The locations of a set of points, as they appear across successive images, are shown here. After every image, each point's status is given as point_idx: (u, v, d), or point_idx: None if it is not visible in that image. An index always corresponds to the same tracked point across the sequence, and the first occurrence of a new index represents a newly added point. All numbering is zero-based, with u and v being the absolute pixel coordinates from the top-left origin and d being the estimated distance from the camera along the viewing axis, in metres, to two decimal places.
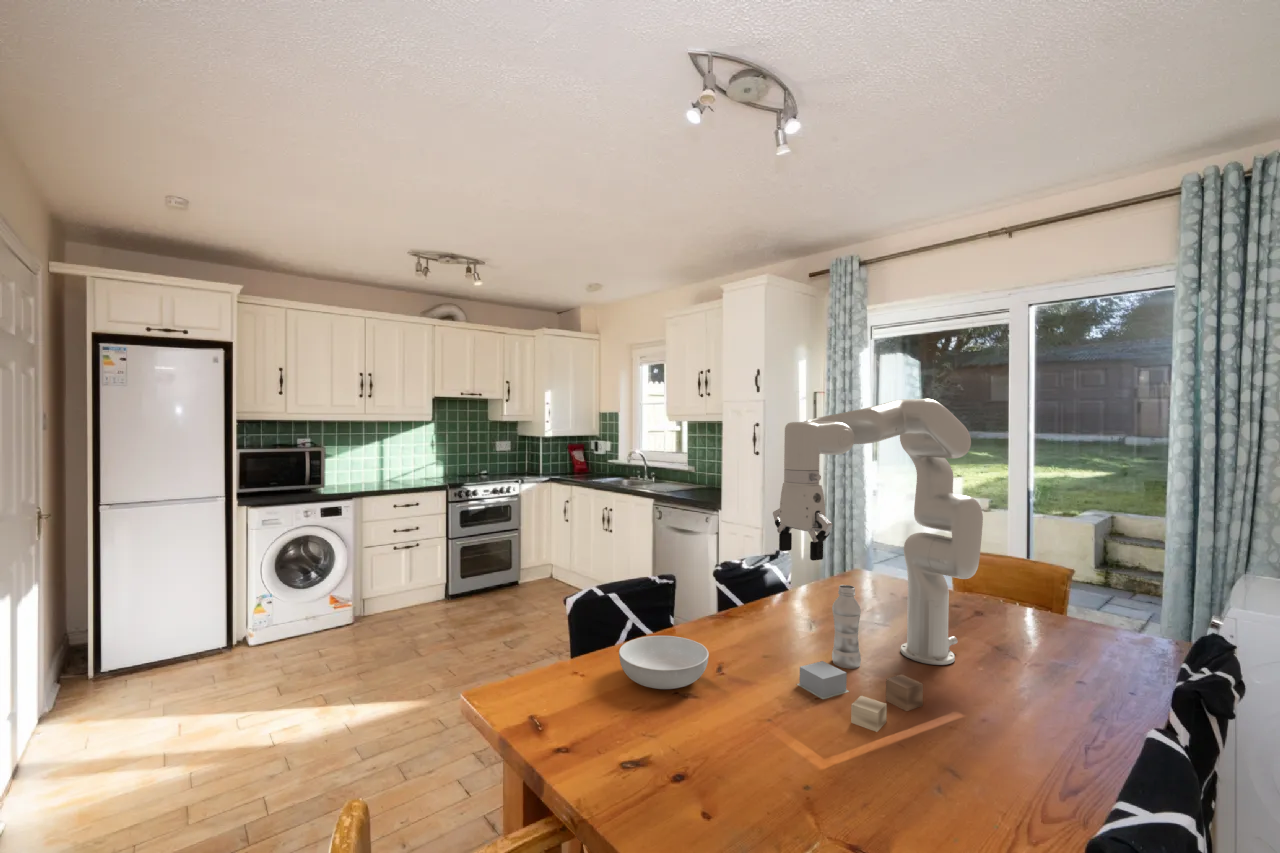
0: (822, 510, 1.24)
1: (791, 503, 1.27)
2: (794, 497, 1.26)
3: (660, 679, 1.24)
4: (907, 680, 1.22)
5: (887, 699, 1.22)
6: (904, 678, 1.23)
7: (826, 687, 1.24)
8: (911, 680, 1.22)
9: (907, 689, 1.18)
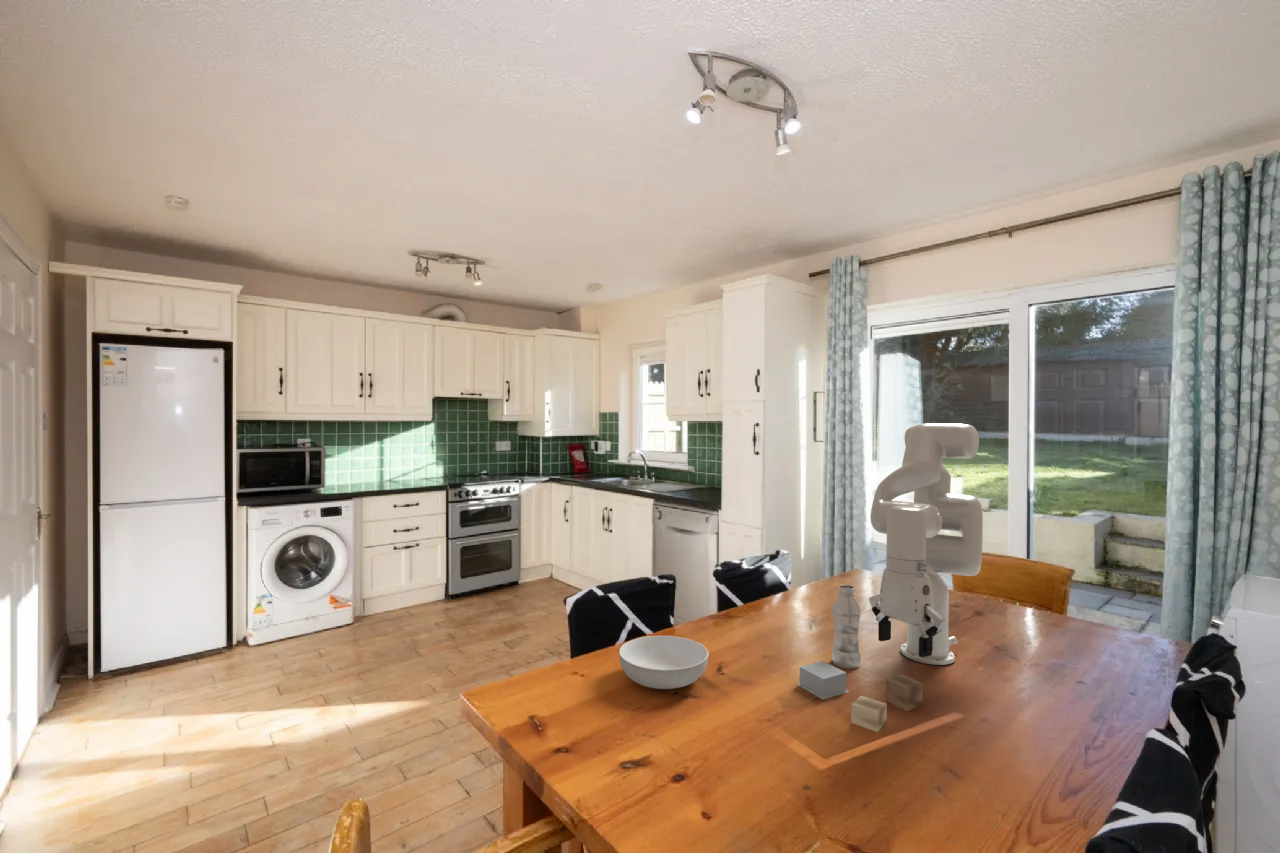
0: (931, 603, 1.17)
1: (895, 593, 1.20)
2: (899, 587, 1.19)
3: (660, 679, 1.24)
4: (907, 680, 1.22)
5: (887, 699, 1.22)
6: (904, 678, 1.23)
7: (826, 687, 1.24)
8: (911, 680, 1.22)
9: (907, 689, 1.18)
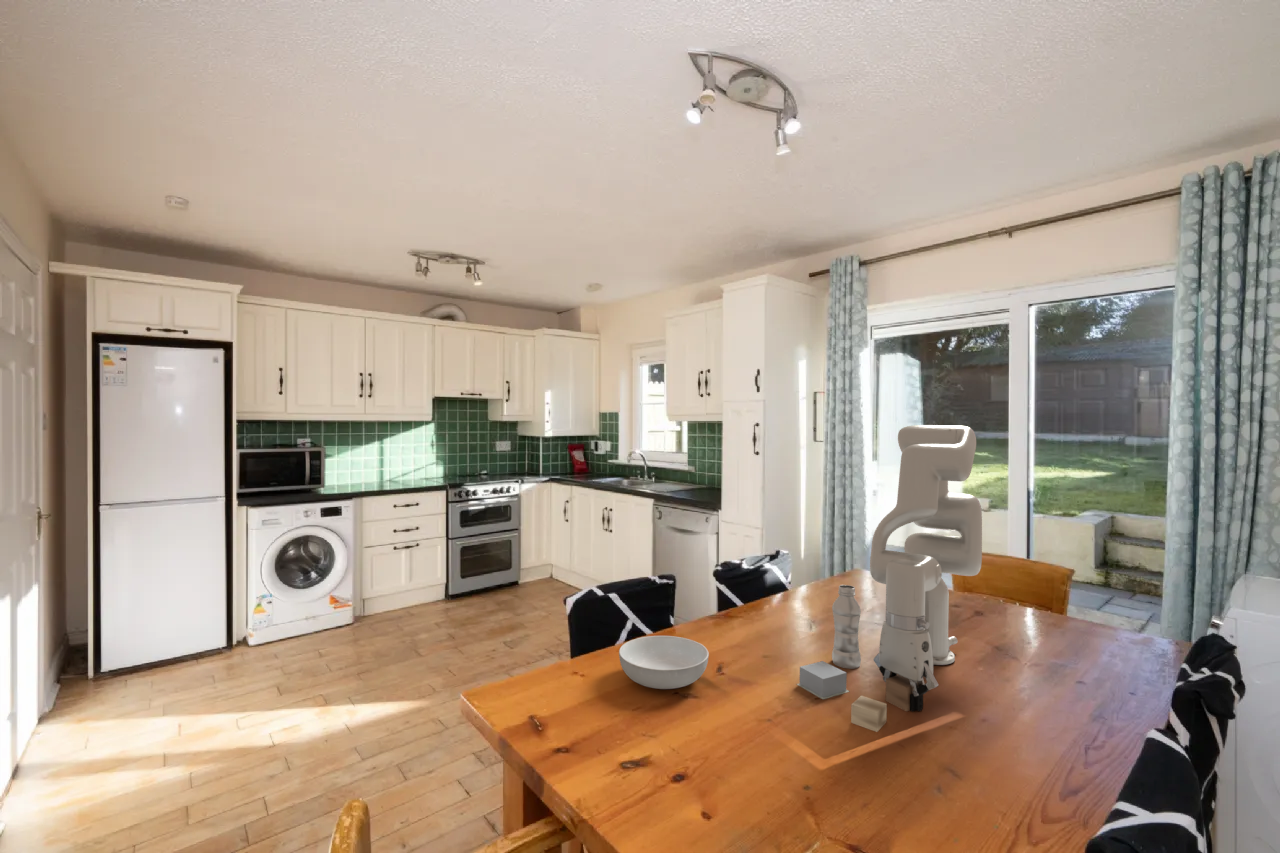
0: (930, 659, 1.17)
1: (895, 648, 1.20)
2: (899, 643, 1.19)
3: (660, 679, 1.24)
4: (907, 680, 1.22)
5: (887, 699, 1.22)
6: (904, 678, 1.22)
7: (826, 687, 1.24)
8: None
9: (907, 689, 1.18)
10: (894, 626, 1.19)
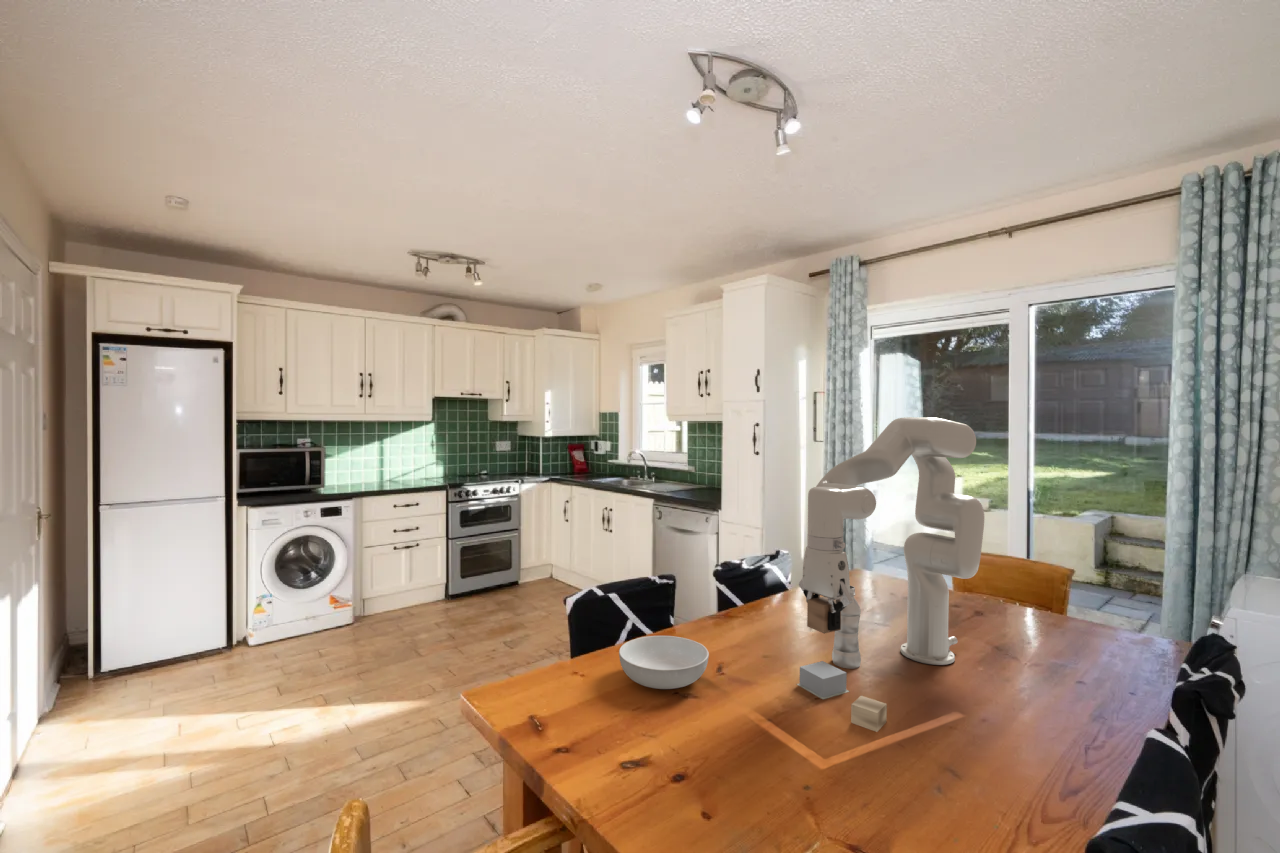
0: (846, 577, 1.24)
1: (815, 569, 1.27)
2: (818, 563, 1.26)
3: (660, 679, 1.24)
4: (827, 600, 1.28)
5: (808, 618, 1.29)
6: (825, 599, 1.29)
7: (826, 687, 1.24)
8: None
9: (825, 607, 1.25)
10: (813, 548, 1.26)
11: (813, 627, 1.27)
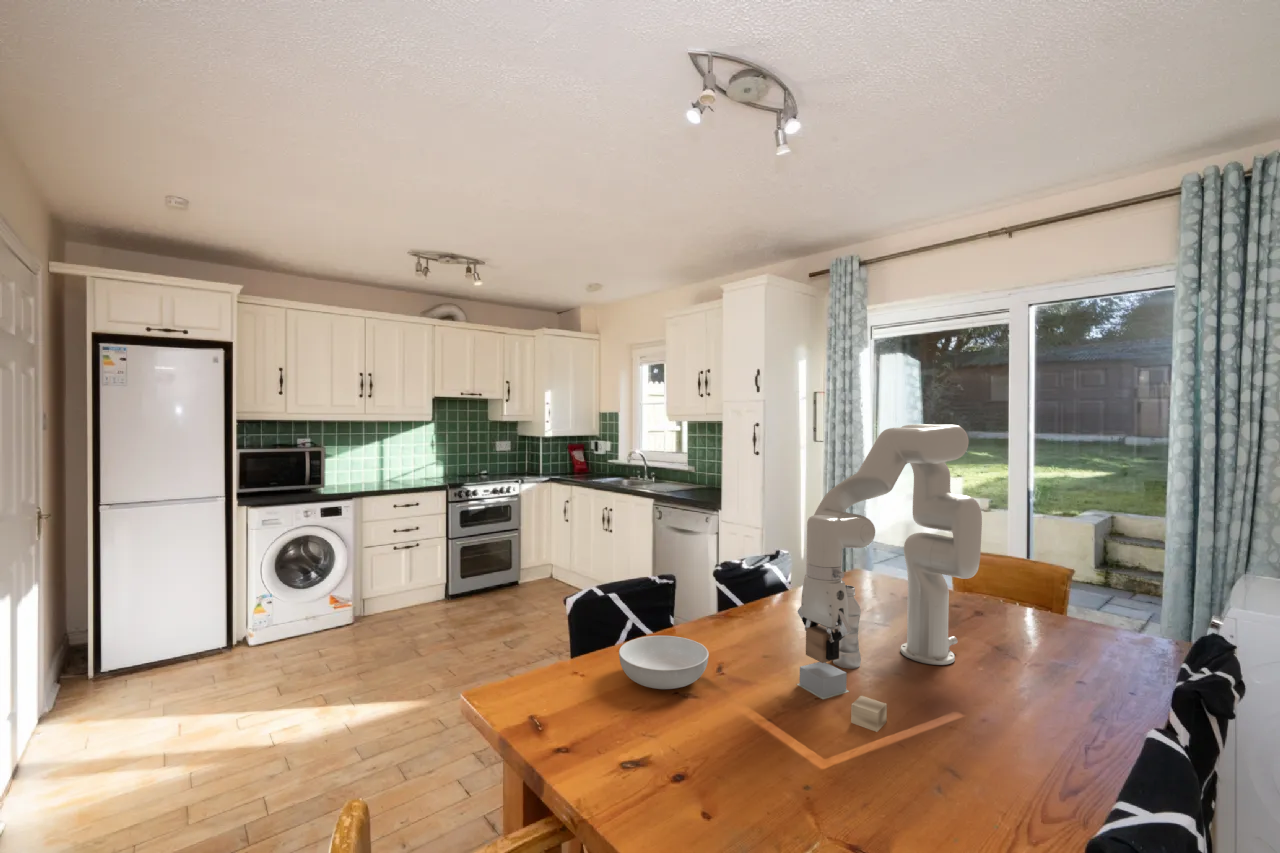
0: (845, 607, 1.24)
1: (813, 598, 1.27)
2: (817, 592, 1.26)
3: (660, 679, 1.24)
4: (826, 629, 1.28)
5: (807, 647, 1.29)
6: (824, 627, 1.29)
7: (826, 687, 1.24)
8: None
9: (823, 636, 1.25)
10: (812, 577, 1.26)
11: (811, 656, 1.27)
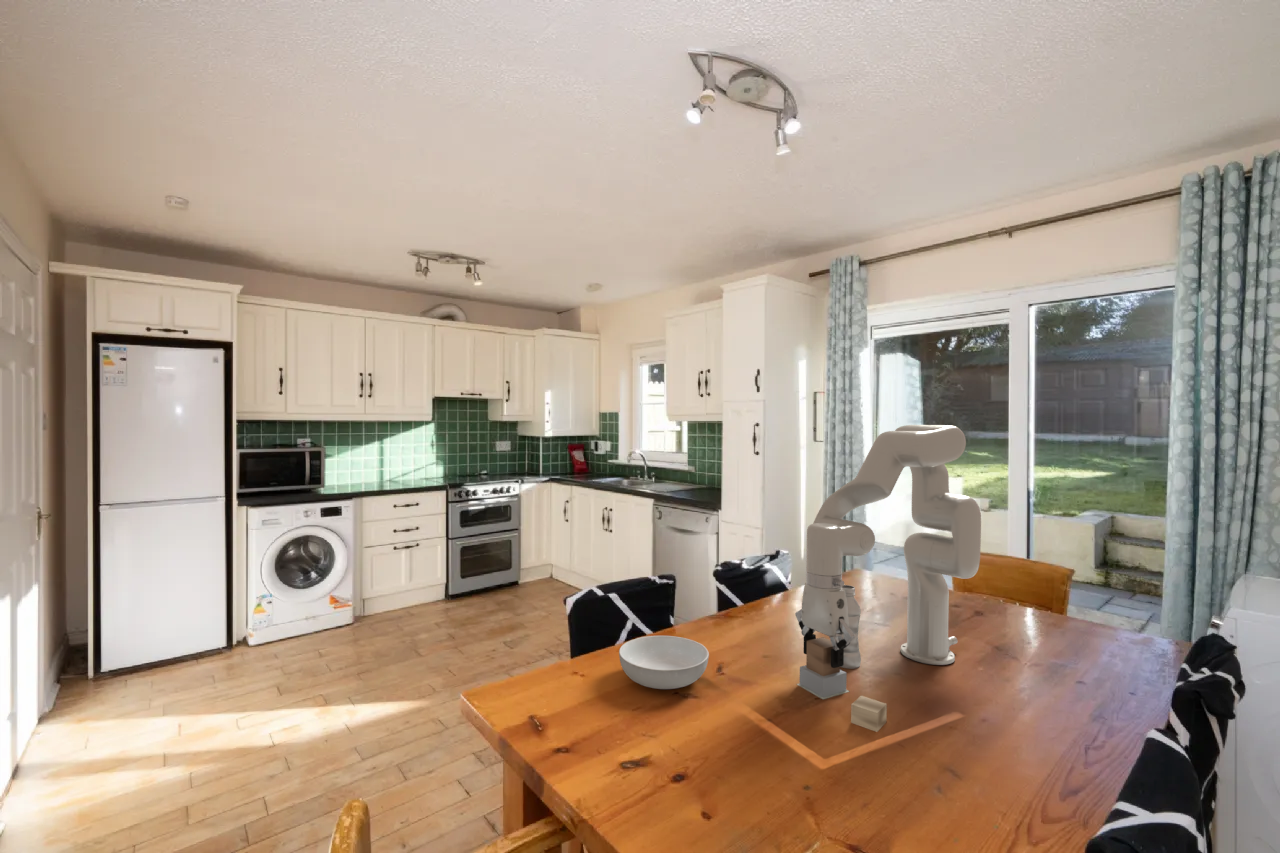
0: (845, 615, 1.24)
1: (814, 606, 1.27)
2: (817, 601, 1.26)
3: (660, 679, 1.24)
4: (826, 642, 1.28)
5: (807, 660, 1.29)
6: (824, 640, 1.29)
7: (826, 687, 1.24)
8: (830, 642, 1.28)
9: (824, 649, 1.25)
10: (812, 585, 1.26)
11: (812, 669, 1.27)
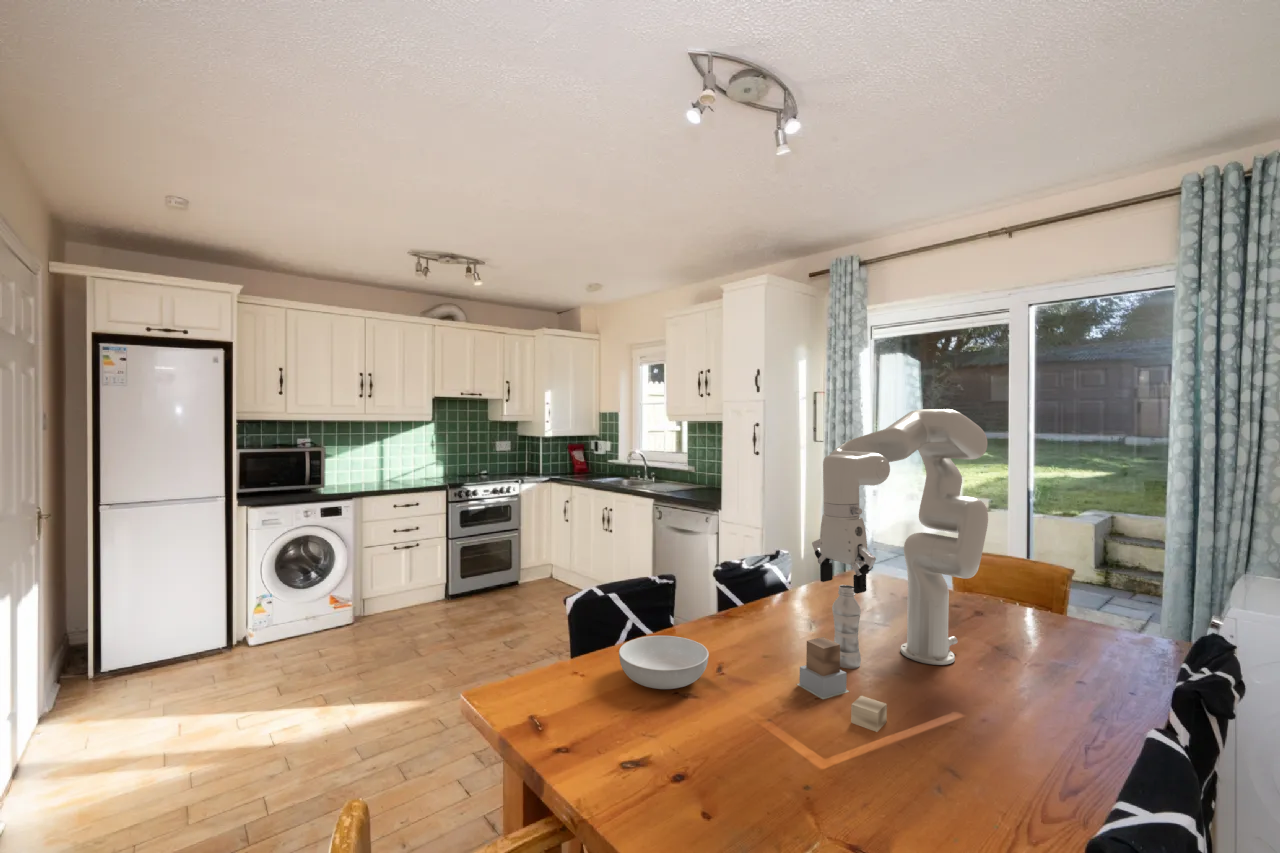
0: (864, 543, 1.25)
1: (832, 536, 1.28)
2: (835, 530, 1.27)
3: (660, 679, 1.24)
4: (826, 642, 1.28)
5: (807, 660, 1.29)
6: (824, 640, 1.29)
7: (826, 687, 1.24)
8: (830, 642, 1.28)
9: (824, 649, 1.25)
10: (830, 515, 1.27)
11: (812, 669, 1.27)
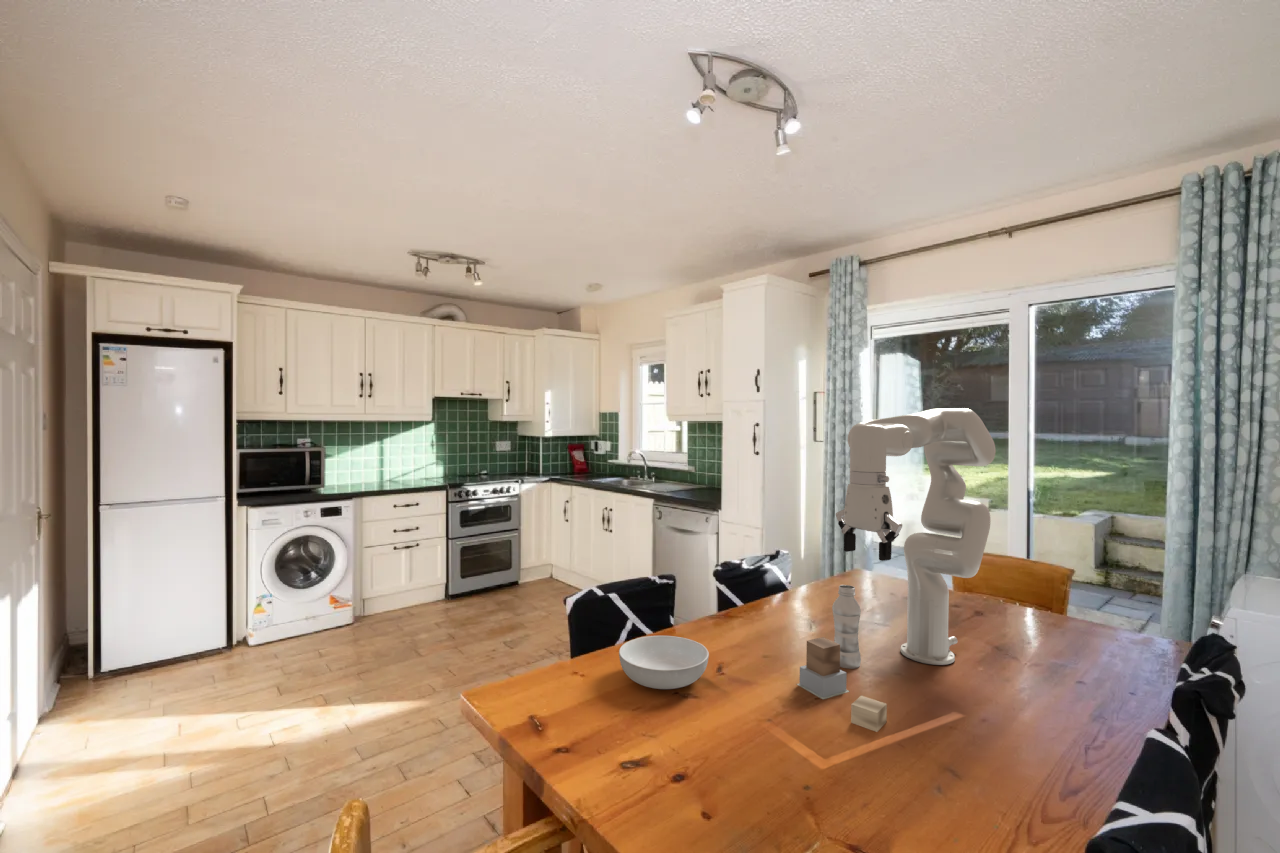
0: (890, 511, 1.26)
1: (858, 504, 1.29)
2: (861, 498, 1.28)
3: (660, 679, 1.24)
4: (826, 642, 1.28)
5: (807, 660, 1.29)
6: (824, 640, 1.29)
7: (826, 687, 1.24)
8: (830, 642, 1.28)
9: (824, 649, 1.25)
10: (857, 483, 1.28)
11: (812, 669, 1.27)
